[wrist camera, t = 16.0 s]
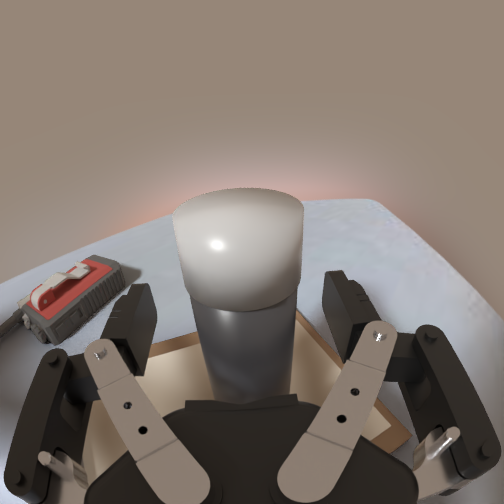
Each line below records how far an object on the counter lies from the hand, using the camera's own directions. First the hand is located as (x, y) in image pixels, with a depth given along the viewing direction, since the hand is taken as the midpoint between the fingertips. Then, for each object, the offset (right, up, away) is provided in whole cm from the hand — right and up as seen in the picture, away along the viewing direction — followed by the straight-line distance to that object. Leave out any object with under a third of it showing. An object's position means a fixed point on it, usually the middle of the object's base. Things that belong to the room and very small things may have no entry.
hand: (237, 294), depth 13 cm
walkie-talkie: (-20, -6, +12) cm, 24 cm away
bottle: (+1, -8, +3) cm, 9 cm away
